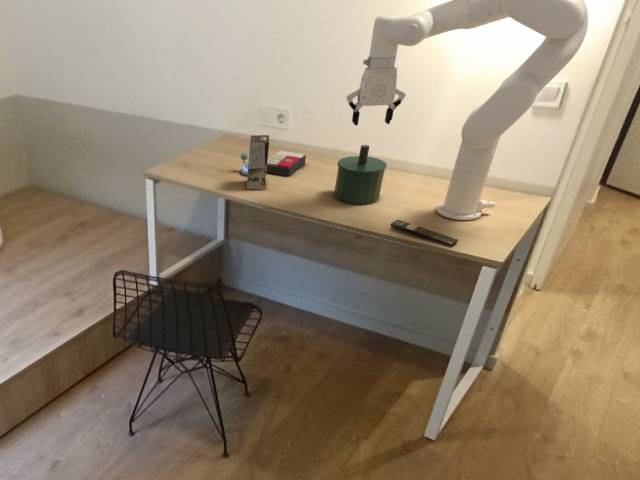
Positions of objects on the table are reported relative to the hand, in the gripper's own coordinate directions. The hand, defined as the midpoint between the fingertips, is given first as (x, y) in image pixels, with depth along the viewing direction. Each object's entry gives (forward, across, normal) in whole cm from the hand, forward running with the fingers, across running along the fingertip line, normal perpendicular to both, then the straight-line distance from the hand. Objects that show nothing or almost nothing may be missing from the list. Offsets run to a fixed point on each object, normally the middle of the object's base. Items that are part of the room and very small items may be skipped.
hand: (371, 123), depth 192 cm
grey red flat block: (+23, -21, +31) cm, 44 cm away
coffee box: (+23, -33, +13) cm, 42 cm away
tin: (+24, -1, 0) cm, 24 cm away
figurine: (+23, -34, +26) cm, 49 cm away
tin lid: (+13, -1, 0) cm, 13 cm away
